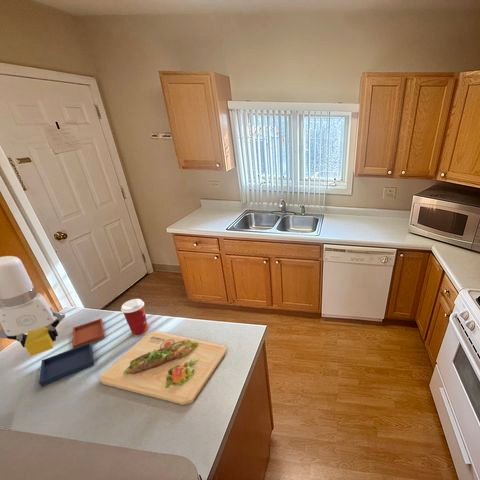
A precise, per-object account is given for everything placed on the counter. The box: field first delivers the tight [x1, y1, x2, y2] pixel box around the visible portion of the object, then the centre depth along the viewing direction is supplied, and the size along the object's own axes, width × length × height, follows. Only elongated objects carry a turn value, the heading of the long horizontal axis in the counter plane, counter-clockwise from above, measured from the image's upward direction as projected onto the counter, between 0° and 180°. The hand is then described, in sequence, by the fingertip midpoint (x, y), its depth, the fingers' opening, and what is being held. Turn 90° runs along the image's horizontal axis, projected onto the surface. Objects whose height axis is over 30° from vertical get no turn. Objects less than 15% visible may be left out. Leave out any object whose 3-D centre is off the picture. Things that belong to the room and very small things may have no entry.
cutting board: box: [99, 330, 228, 406], centre depth 91 cm, size 35×23×8 cm
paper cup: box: [120, 298, 149, 336], centre depth 104 cm, size 8×8×14 cm
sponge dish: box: [72, 318, 106, 349], centre depth 103 cm, size 12×9×2 cm
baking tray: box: [38, 342, 95, 388], centre depth 90 cm, size 13×11×2 cm
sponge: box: [24, 327, 55, 357], centre depth 82 cm, size 8×5×4 cm, turn 41°
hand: (42, 342), depth 82 cm, fingers closed on sponge, 5 cm apart
